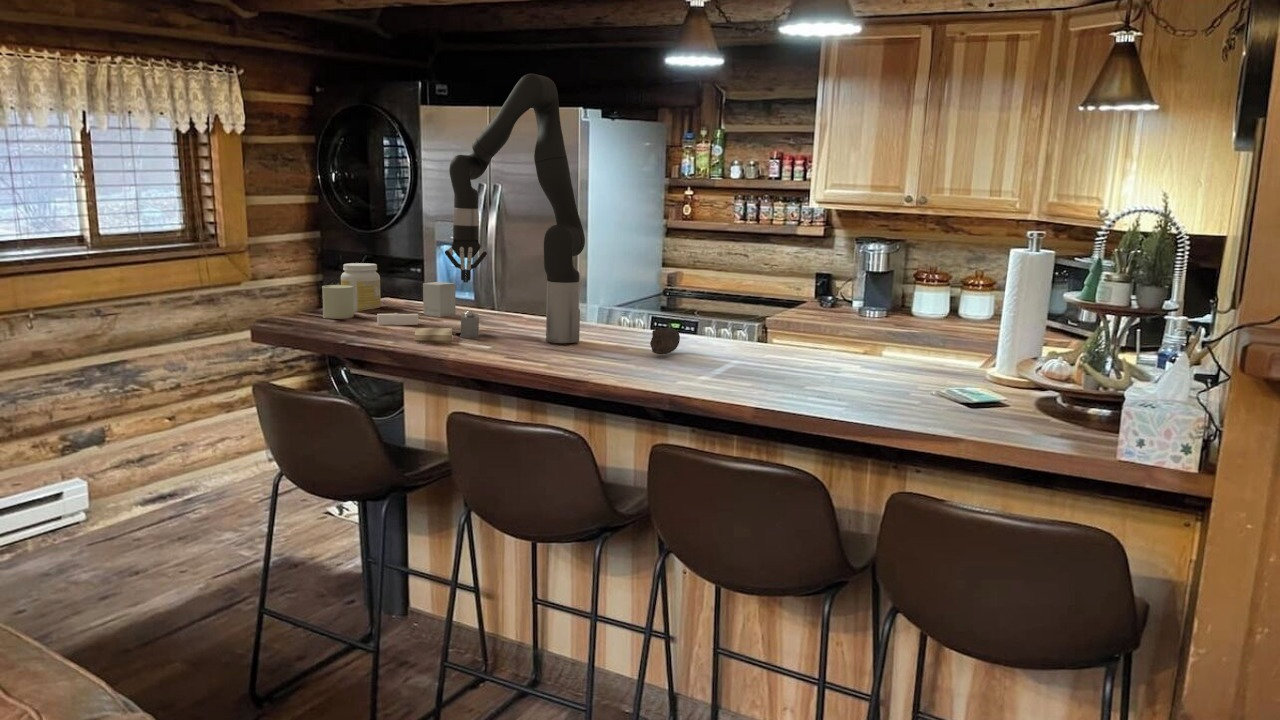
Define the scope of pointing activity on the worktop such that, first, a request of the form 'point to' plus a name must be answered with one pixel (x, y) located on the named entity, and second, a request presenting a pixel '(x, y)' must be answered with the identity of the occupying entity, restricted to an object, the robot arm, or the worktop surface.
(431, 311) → the supplement box
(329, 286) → the can
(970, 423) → the worktop surface
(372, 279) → the supplement tub
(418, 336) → the stand
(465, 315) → the block
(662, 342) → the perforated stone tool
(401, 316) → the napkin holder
